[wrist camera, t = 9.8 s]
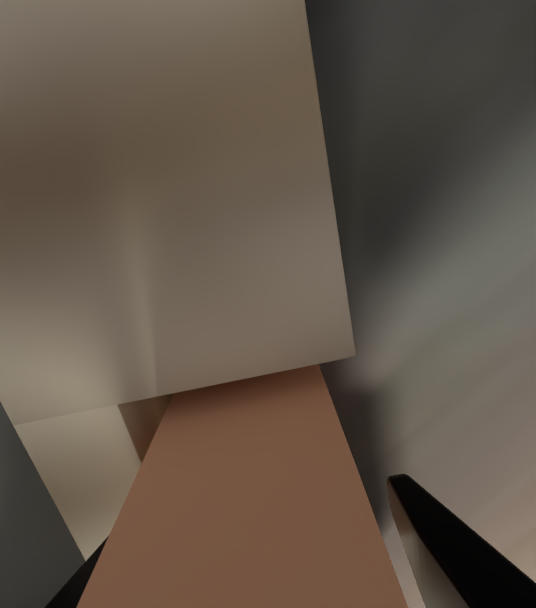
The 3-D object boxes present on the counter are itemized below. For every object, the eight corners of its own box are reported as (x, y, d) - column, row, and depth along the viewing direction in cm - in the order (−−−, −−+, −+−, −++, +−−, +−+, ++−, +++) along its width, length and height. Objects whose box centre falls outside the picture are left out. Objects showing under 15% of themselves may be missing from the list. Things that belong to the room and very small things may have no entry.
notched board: (369, 558, 13) (399, 656, 10) (179, 591, 14) (157, 695, 11) (266, -68, 7) (270, -238, 4) (-69, 19, 8) (-263, -89, 5)
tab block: (328, 441, 12) (462, 904, 4) (218, 462, 12) (139, 947, 4) (309, 338, 10) (447, 713, 3) (186, 363, 11) (-4, 784, 3)
